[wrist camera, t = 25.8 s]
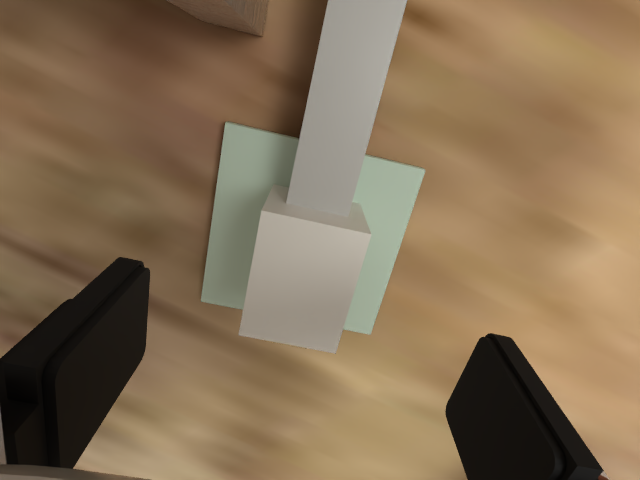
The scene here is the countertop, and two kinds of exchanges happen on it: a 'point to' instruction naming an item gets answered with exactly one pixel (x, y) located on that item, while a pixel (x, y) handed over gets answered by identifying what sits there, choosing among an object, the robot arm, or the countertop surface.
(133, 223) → the countertop surface
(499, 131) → the countertop surface
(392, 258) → the mat
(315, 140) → the plug
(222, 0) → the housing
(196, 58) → the countertop surface
